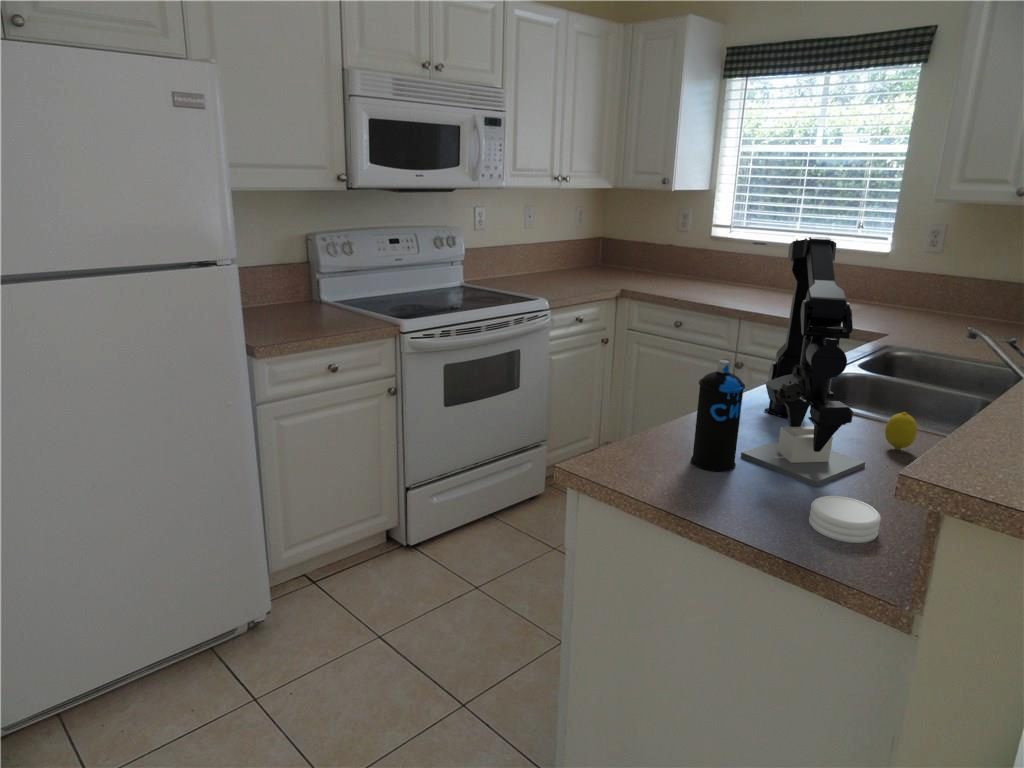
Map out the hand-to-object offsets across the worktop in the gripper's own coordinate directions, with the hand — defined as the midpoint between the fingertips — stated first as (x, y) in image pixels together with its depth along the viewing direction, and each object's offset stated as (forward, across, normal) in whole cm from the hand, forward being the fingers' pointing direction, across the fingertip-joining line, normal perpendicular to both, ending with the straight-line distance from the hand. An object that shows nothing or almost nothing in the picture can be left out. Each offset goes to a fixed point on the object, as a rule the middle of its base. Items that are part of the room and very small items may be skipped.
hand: (804, 442), depth 138 cm
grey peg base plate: (+4, 0, 0) cm, 4 cm away
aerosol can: (+4, 0, -18) cm, 18 cm away
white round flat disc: (+4, +26, -6) cm, 27 cm away
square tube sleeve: (+3, 0, 0) cm, 3 cm away
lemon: (+4, -5, +22) cm, 23 cm away
